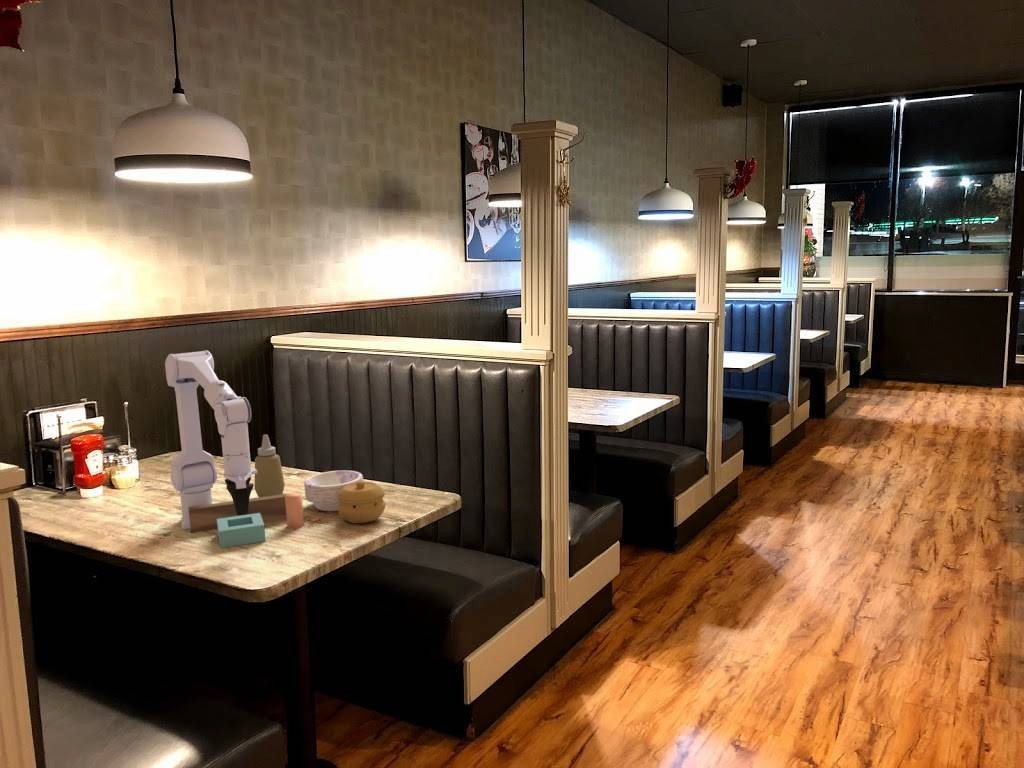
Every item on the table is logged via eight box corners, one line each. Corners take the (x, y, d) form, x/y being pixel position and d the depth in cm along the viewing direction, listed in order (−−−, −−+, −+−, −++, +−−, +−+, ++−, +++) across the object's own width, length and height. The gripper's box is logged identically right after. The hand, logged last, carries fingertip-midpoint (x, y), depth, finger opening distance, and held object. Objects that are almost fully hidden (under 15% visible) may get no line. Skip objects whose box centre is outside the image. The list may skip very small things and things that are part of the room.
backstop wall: (190, 530, 206) (188, 507, 205) (290, 516, 214) (289, 493, 213) (191, 533, 203) (188, 509, 202) (292, 518, 212) (290, 495, 211)
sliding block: (218, 534, 201) (216, 518, 200) (261, 528, 205) (259, 512, 204) (220, 548, 192) (218, 531, 191) (265, 541, 196) (264, 524, 195)
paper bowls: (293, 511, 218) (291, 481, 217) (331, 495, 232) (329, 467, 230) (339, 518, 211) (337, 488, 210) (376, 501, 225) (374, 472, 223)
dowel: (286, 525, 207) (283, 494, 206) (302, 522, 209) (300, 491, 207) (288, 530, 204) (285, 498, 202) (305, 527, 205) (302, 496, 204)
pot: (365, 510, 217) (362, 472, 216) (396, 518, 210) (394, 479, 209) (329, 522, 209) (326, 483, 207) (360, 531, 201) (357, 490, 200)
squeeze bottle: (249, 503, 227) (244, 438, 224) (265, 494, 235) (259, 431, 232) (276, 504, 225) (271, 438, 222) (291, 495, 233) (286, 432, 230)
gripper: (258, 457, 181) (263, 518, 183) (252, 444, 194) (256, 500, 196) (223, 461, 178) (229, 523, 180) (219, 447, 191) (225, 504, 194)
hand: (241, 511), depth 188 cm, fingers open, 4 cm apart
